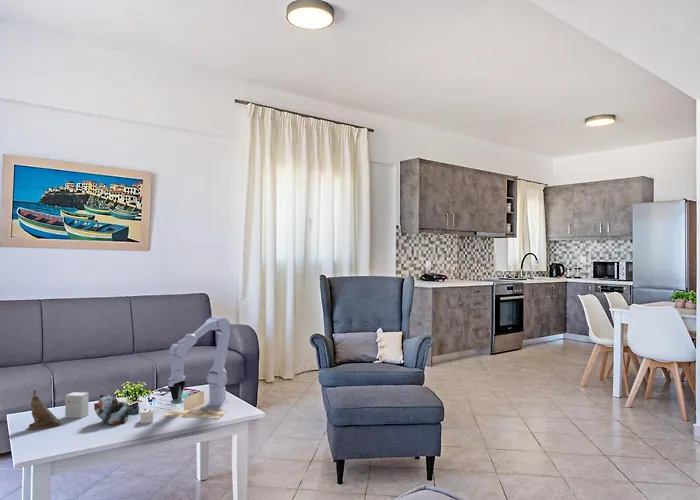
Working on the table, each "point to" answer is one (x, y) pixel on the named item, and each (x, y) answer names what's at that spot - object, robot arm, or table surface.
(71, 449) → the table surface
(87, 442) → the table surface
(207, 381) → the robot arm
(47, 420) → the brown carved statuette
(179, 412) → the game board
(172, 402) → the pawn
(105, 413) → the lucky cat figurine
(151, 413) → the cream block
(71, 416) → the small box
